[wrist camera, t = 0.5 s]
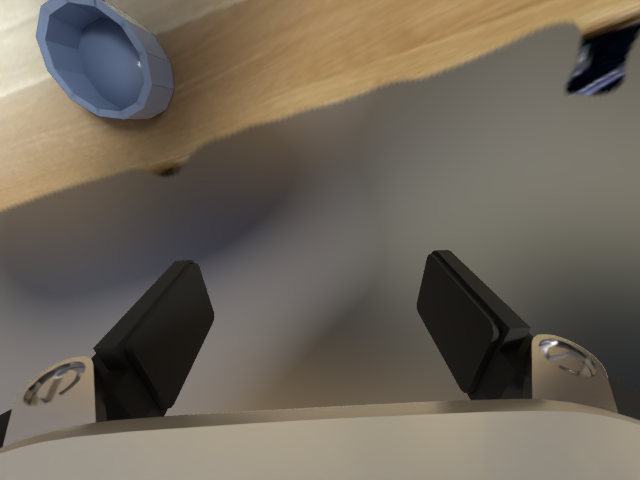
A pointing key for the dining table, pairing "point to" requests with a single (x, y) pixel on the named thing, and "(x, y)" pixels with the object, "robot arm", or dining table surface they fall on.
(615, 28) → the dining table surface
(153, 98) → the bowl
